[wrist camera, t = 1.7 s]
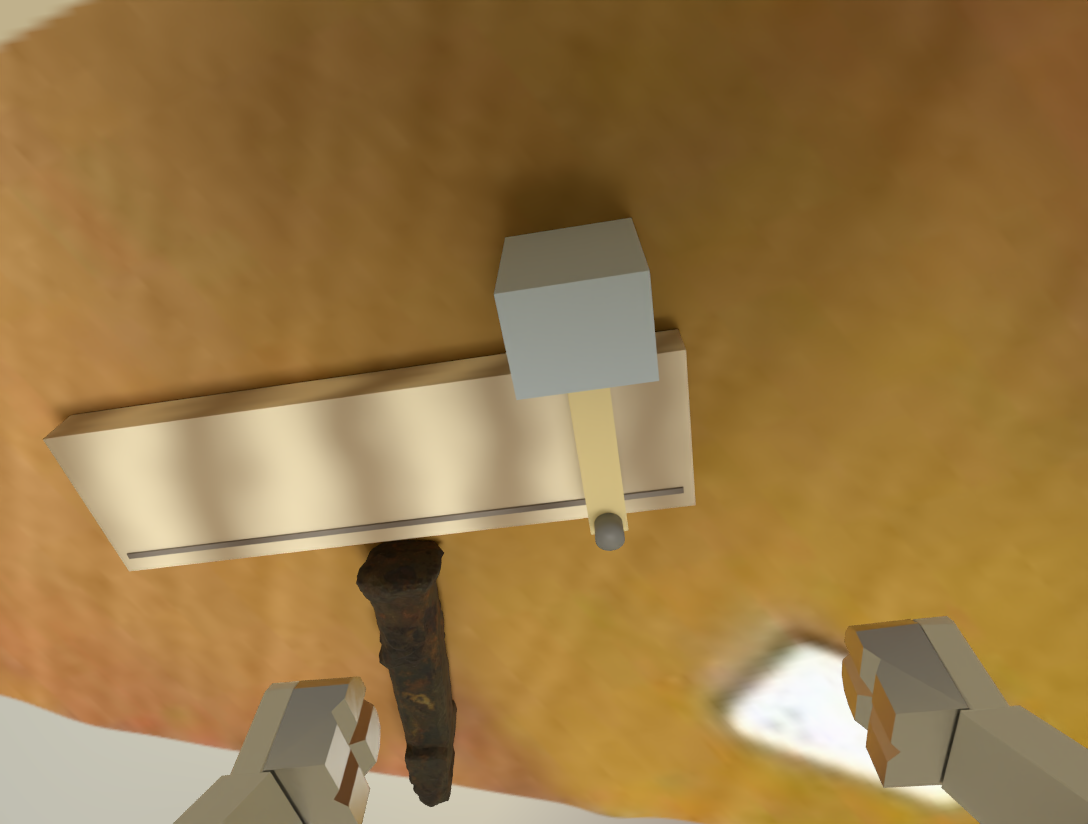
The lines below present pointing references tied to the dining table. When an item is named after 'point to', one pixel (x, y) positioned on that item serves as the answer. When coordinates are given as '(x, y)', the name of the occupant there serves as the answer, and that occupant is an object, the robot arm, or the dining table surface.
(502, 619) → the dining table surface
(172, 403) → the board
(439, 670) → the rusty railroad spike
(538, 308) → the grey mallet
